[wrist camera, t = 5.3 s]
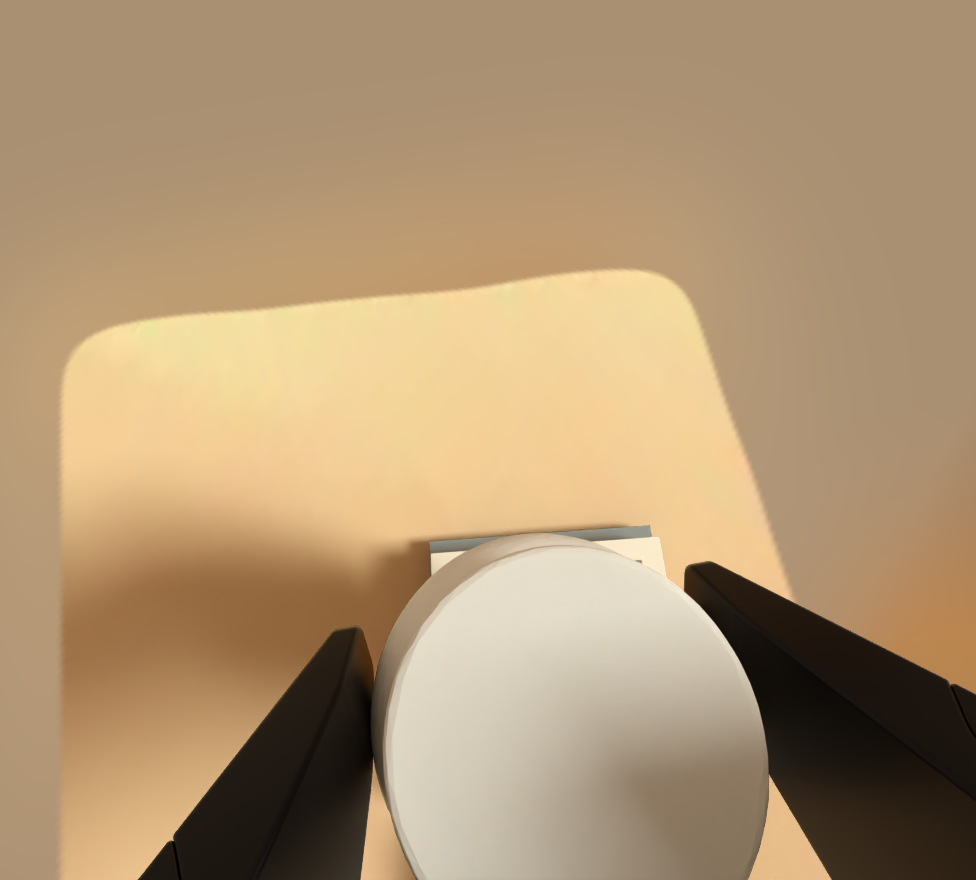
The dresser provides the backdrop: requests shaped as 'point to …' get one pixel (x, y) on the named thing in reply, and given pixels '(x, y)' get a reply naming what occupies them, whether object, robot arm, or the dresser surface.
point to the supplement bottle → (566, 723)
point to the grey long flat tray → (620, 540)
